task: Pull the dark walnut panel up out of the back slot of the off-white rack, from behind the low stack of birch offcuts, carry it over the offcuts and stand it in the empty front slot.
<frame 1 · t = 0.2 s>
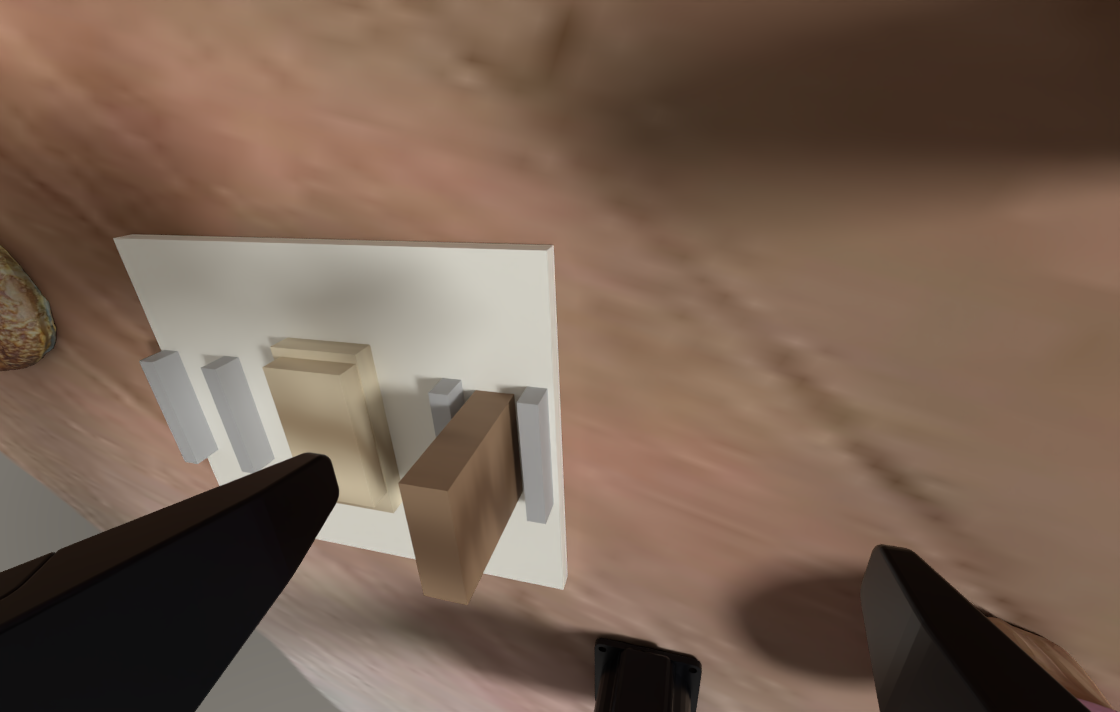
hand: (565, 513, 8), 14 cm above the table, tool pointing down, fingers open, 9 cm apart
walnut panel: (500, 442, 25), point 1 cm above the table, touching rack
cupcake: (981, 639, 24), on the table
rack: (360, 413, 28), on the table
offcut stack: (349, 422, 27), point 1 cm above the table, touching rack
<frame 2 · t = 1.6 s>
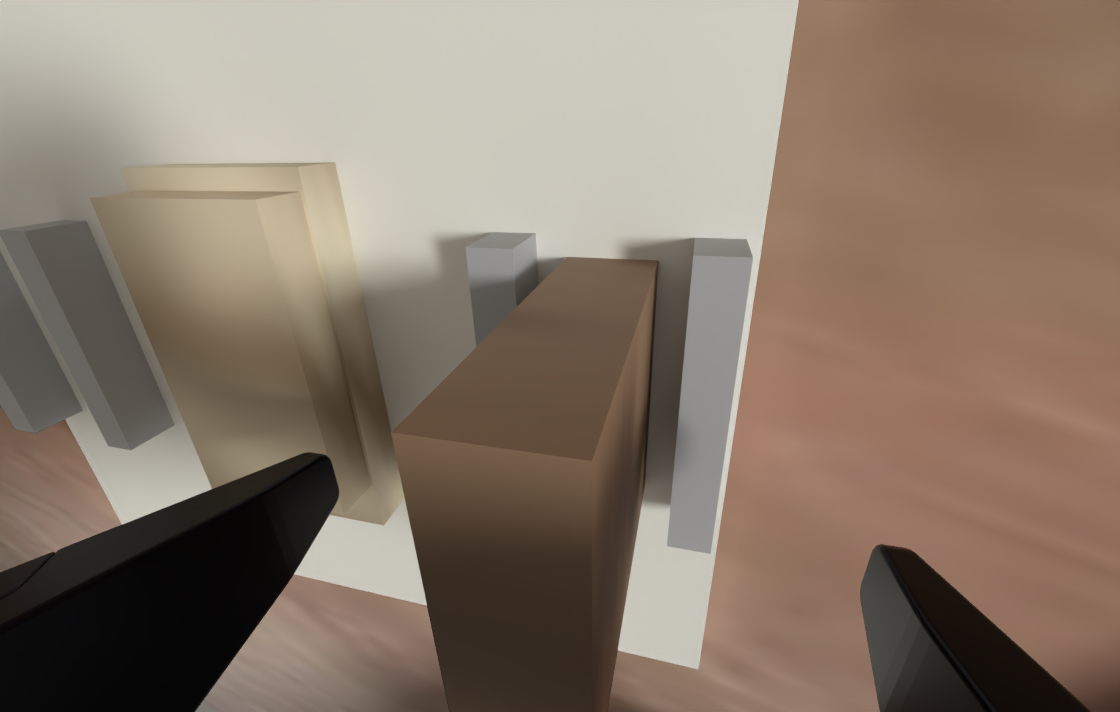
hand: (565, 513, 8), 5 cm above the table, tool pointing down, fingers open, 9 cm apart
walnut panel: (609, 380, 12), point 1 cm above the table, touching rack
rack: (323, 336, 15), on the table
offcut stack: (299, 349, 14), point 1 cm above the table, touching rack
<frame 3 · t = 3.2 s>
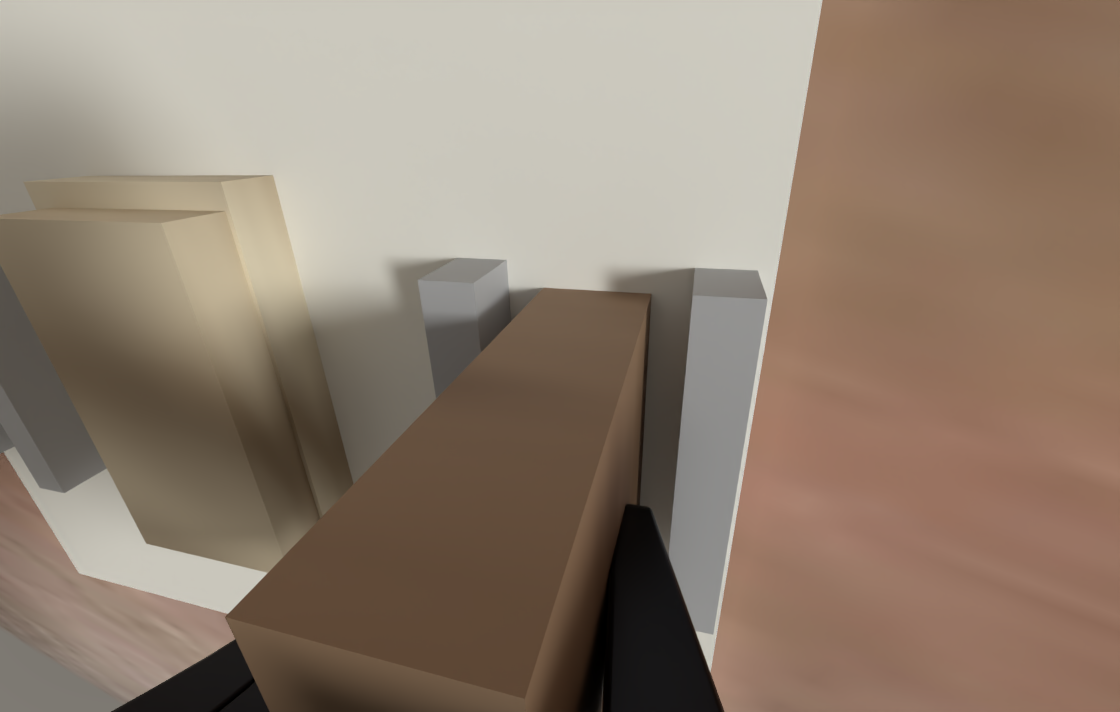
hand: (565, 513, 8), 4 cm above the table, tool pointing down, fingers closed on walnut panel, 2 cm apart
walnut panel: (595, 428, 10), point 1 cm above the table, touching gripper, rack
rack: (276, 367, 13), on the table
offcut stack: (246, 384, 12), point 1 cm above the table, touching rack
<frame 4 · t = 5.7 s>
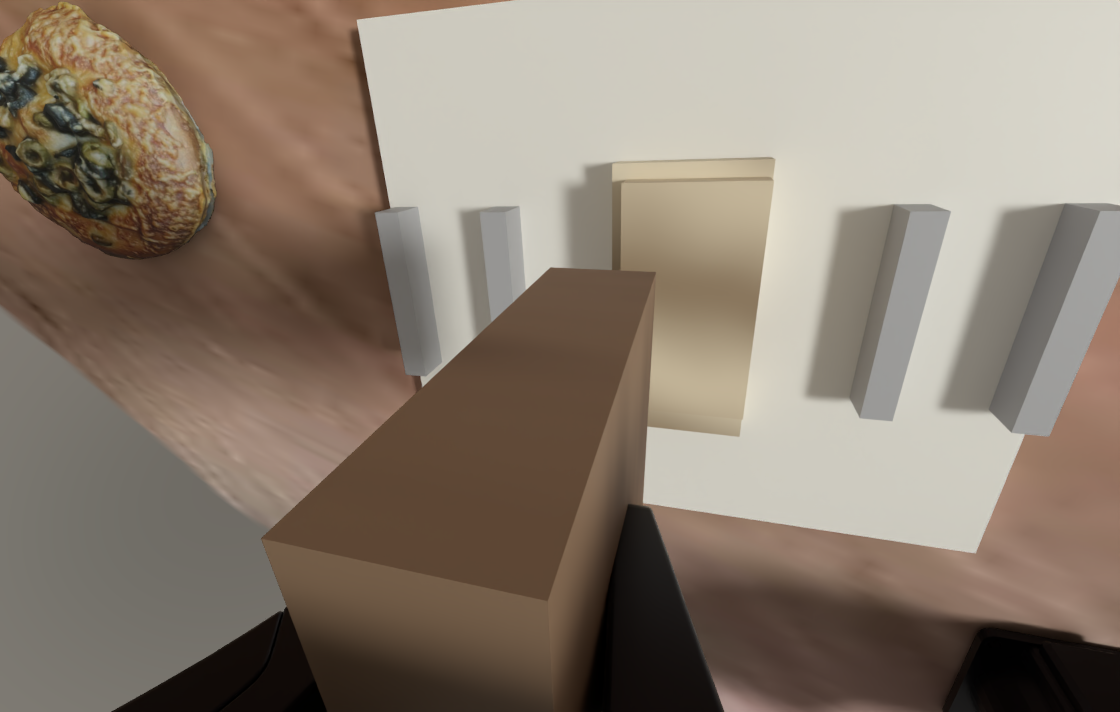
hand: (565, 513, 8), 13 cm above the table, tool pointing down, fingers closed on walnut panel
bread roll: (133, 143, 24), on the table
walnut panel: (600, 408, 10), point 10 cm above the table, touching gripper
rack: (683, 293, 19), on the table
offcut stack: (682, 300, 19), point 1 cm above the table, touching rack
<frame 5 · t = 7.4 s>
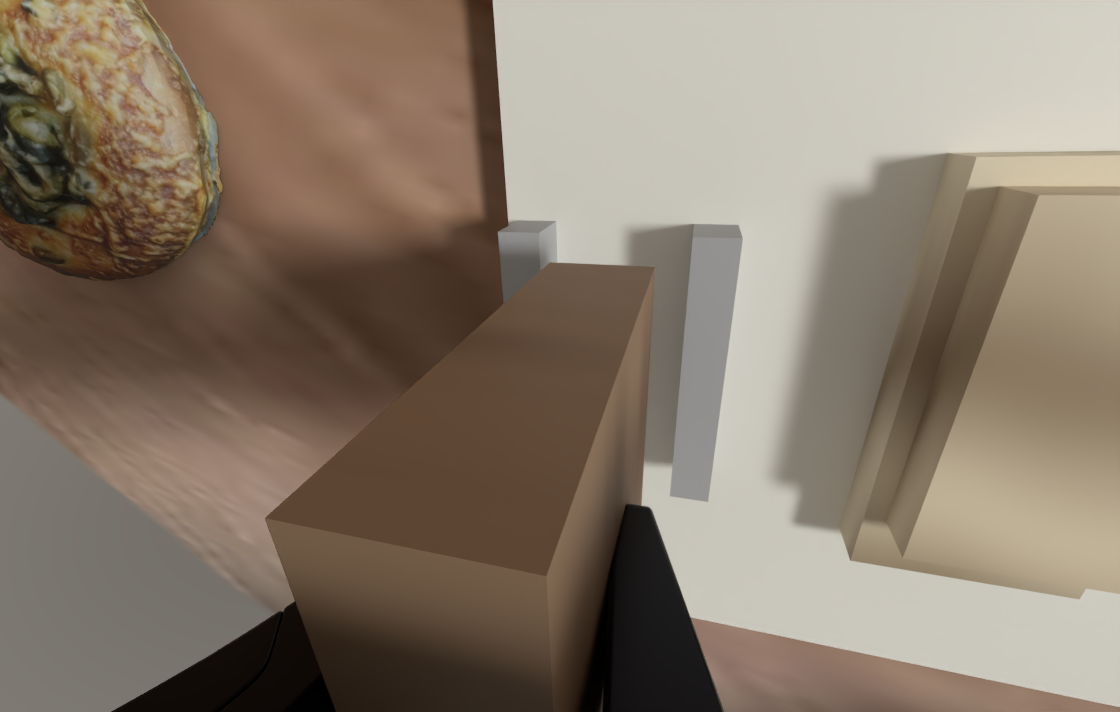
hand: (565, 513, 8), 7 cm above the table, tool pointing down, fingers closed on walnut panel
bread roll: (96, 110, 16), on the table
walnut panel: (599, 402, 10), point 4 cm above the table, touching gripper
rack: (983, 365, 12), on the table
offcut stack: (1005, 384, 11), point 1 cm above the table, touching rack
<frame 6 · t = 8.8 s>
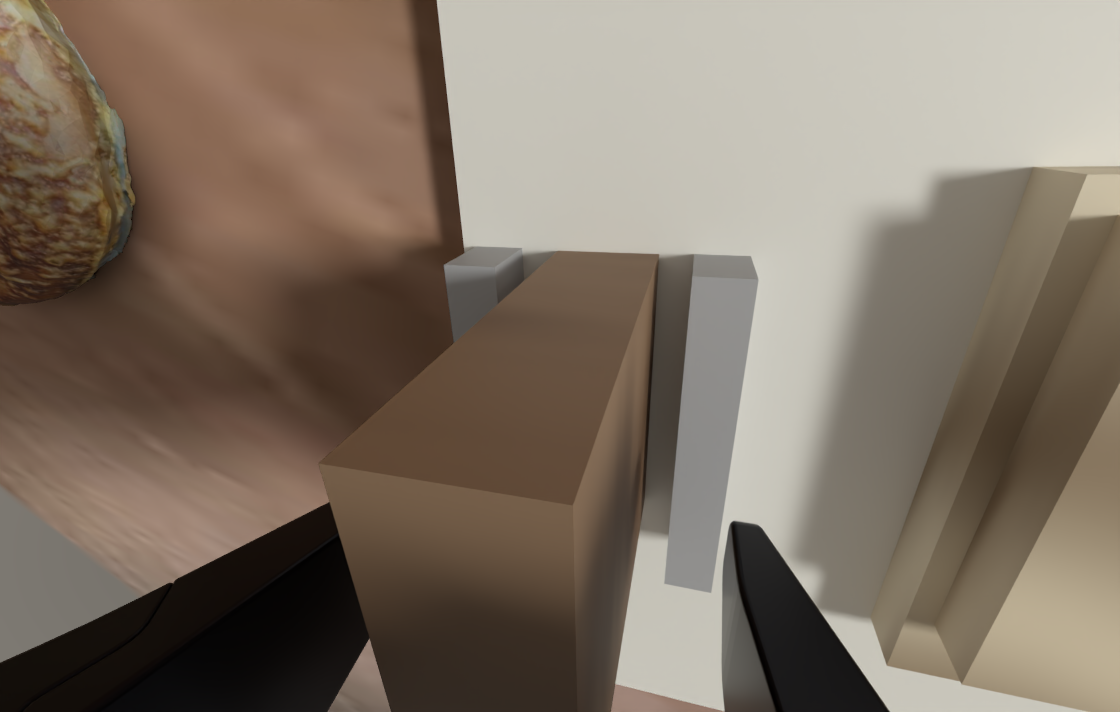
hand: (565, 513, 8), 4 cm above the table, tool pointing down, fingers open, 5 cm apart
walnut panel: (605, 386, 11), point 1 cm above the table, touching rack
rack: (1057, 430, 10), on the table
offcut stack: (1092, 460, 9), point 1 cm above the table, touching rack
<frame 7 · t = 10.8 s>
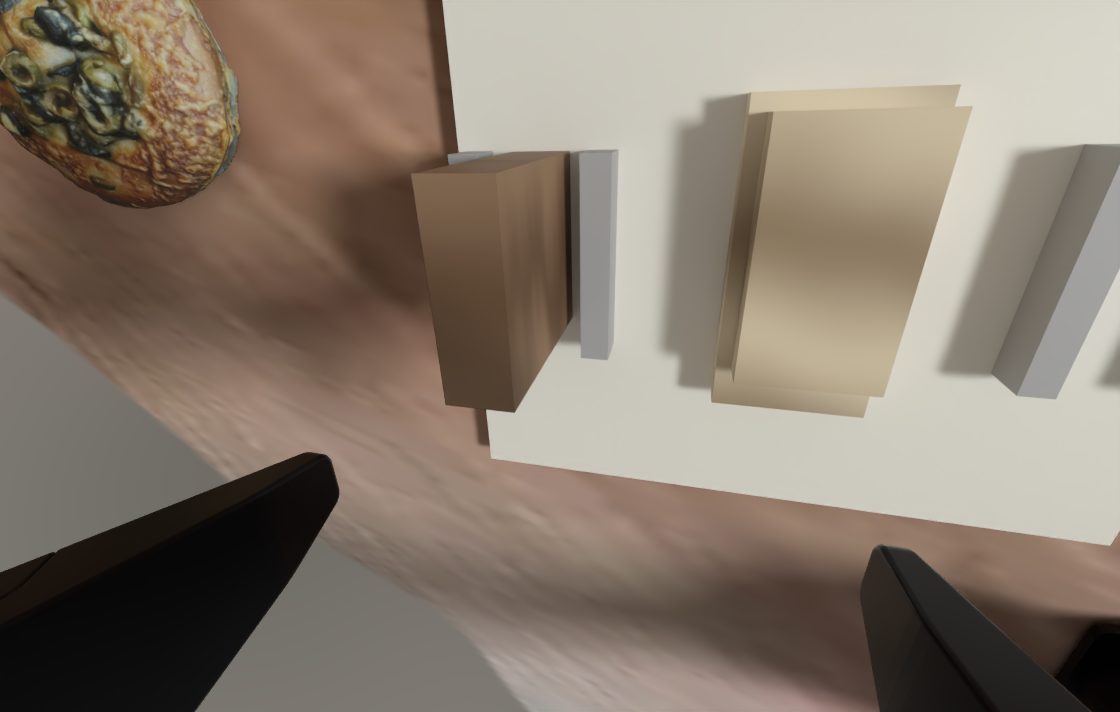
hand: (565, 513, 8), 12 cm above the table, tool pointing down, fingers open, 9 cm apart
bread roll: (137, 69, 21), on the table
walnut panel: (544, 239, 18), point 1 cm above the table, touching rack
rack: (800, 254, 17), on the table
offcut stack: (805, 262, 16), point 1 cm above the table, touching rack
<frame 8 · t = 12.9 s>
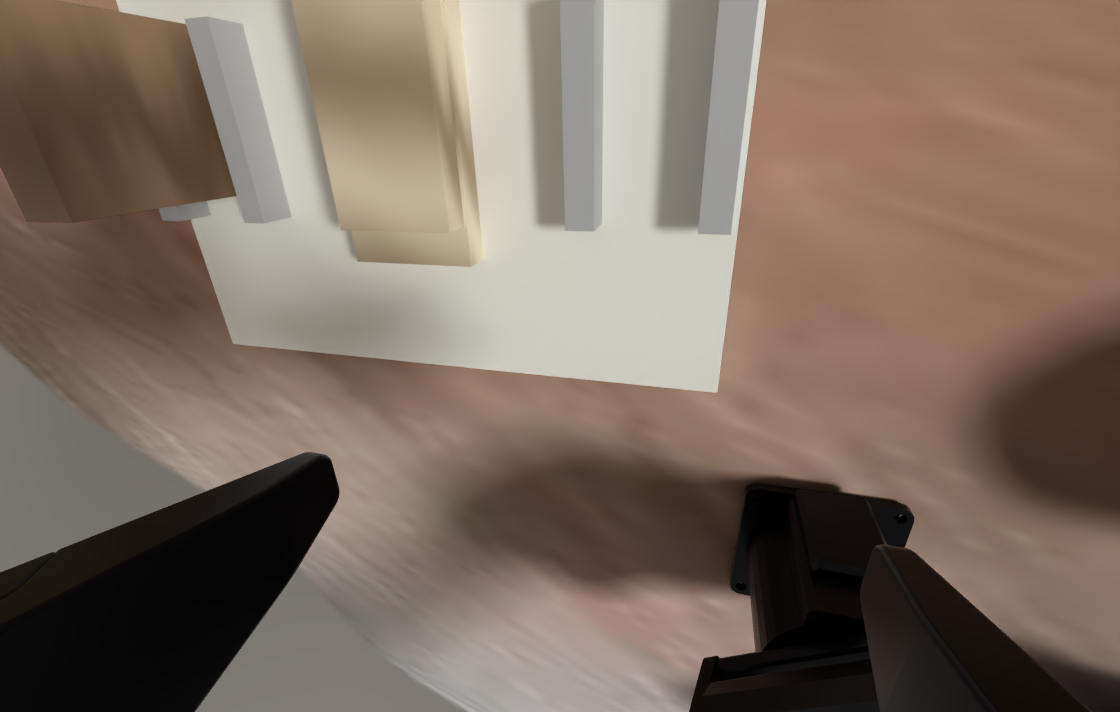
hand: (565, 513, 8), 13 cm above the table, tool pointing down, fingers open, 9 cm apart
walnut panel: (213, 116, 20), point 1 cm above the table, touching rack
rack: (422, 122, 19), on the table
offcut stack: (408, 123, 18), point 1 cm above the table, touching rack
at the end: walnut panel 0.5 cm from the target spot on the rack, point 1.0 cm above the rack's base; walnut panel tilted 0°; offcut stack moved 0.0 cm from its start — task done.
